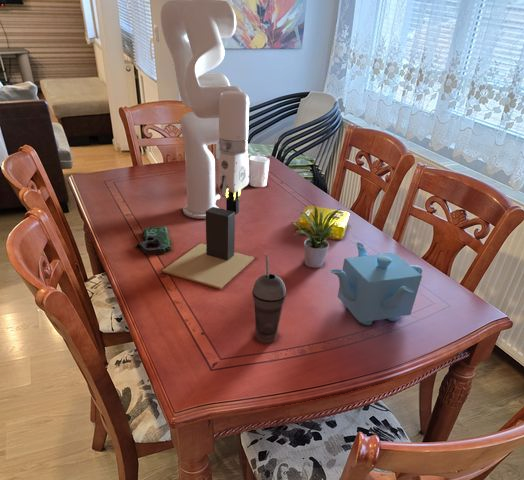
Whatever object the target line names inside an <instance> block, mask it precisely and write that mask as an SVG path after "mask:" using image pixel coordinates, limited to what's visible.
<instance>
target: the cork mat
mask: <svg viewBox="0 0 524 480" xmlns="http://www.w3.org/2000/svg"><path fill="white" fill-rule="evenodd" d="M254 260H255V256H251V255H247V254H243V253H240V252H237V251H234V256H233V257H232V258H230V259H229V260H228V261H227V260H223V259H220V258H216V257H212V256H209V255H206V243H202V242H201V243H199V244H197V245H196V246H194V247H193V248H192V249H190V250H188V251H187V252H186V253H184V254H183V255H181V256H180V257H179V258H177V259H176V260H175V261H173V262H172V263H170V264H169V265H168V266H166V267H165V268H163V269H162V273H164V274H168V275H171V276H175V277H178V278H180V279H184V280H188V281H191V282H194V283H198V284H201V285H205V286H208V287H211V288H215V289H218V290H222V289H223V288H224V287H225V286H226V285H227V284H229V283H230V282H231V281H232V280H233V279H234V278H235V277H236V276H237V275H239V273H241V272H242V271H243V270H244V269H245V268H246V267H247V266H249V264H250V263H252V262H253V261H254Z"/></svg>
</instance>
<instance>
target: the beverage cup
mask: <svg viewBox="0 0 524 480" xmlns="http://www.w3.org/2000/svg"><path fill="white" fill-rule="evenodd" d="M269 267H270V266H269V254H268V253H266V254H265V274H262V275H261V276H259V277H258V278H257V279H256V280H255V282H254V284H253V288H252V291H251V294H252V300H253V306H254V307H253V308H254V329H255V339H256V340H257V341H259V342H261V343H266V344H268V343H273V342H274V341H275V340H276V338H277V334H278V329H279V325H280V319H281V314H282V309H283V305H284V303H285V300H286V297H287V289H286V285H285V282H284V281H283V279H282V278H281V277H279V275H276V274H274V273H270V270H269Z"/></svg>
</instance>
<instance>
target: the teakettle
mask: <svg viewBox="0 0 524 480" xmlns="http://www.w3.org/2000/svg"><path fill="white" fill-rule="evenodd" d="M355 245H356V248H357V251H358V256H353V257H345V258H343V264H342V268H341V269H337V268H336V269H330V270H329V272H330V273H331V274H334V275H335V276H337V278H338V283H339V284H338V285H339V286H338V292H337V298H338V299H339V300H340V301H341V303H342V304H343V305H344V306H345V307H346V308H347V310H348V311H349V312H350V313H351V314H352V315H353V316H354V318H355V319H356V320H357V321H358V323H360V324H362V325H365V326H371V325H372V324H373V321H378V320H379V321H380V320H385V319H386V320H388V321H391V322H396V321H398V319H399V317H404V316H410V315H411V314H412V312H413V308H414V305H415V302H416V299H417V294H418V291H419V287H420V284H421V282H422V278H423V275H422V274H423V268H422V267H421V266H419V265H415V264H409V263H408V262H407V261H405V260H404V259H403V258H402V257H401V256H399V255H398V254H397V253H396V252H389V253H379V254H378V253H377V254H370V255H369V254H368V253H367V249H366V247H365V246H364V244H363V243H362V242H356V244H355Z"/></svg>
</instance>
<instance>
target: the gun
mask: <svg viewBox="0 0 524 480" xmlns="http://www.w3.org/2000/svg"><path fill="white" fill-rule="evenodd" d="M142 238H143V241H141V242H138V243H136V245H135V246H136V247H135V248H138V249H139V250H141V252H142V253H144V254H147V255H157V254H163V255H165V253H168V252H170V251H171V250H172V246H171V245H172V242H171V239H170V237H169V231H168V228H167V227H166V226H165V225H163V226H162V225H161V226H160V225H159V226H148V227H145V228H144V230H143V231H142ZM152 246H156V247H155V248H148V247H152Z"/></svg>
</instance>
